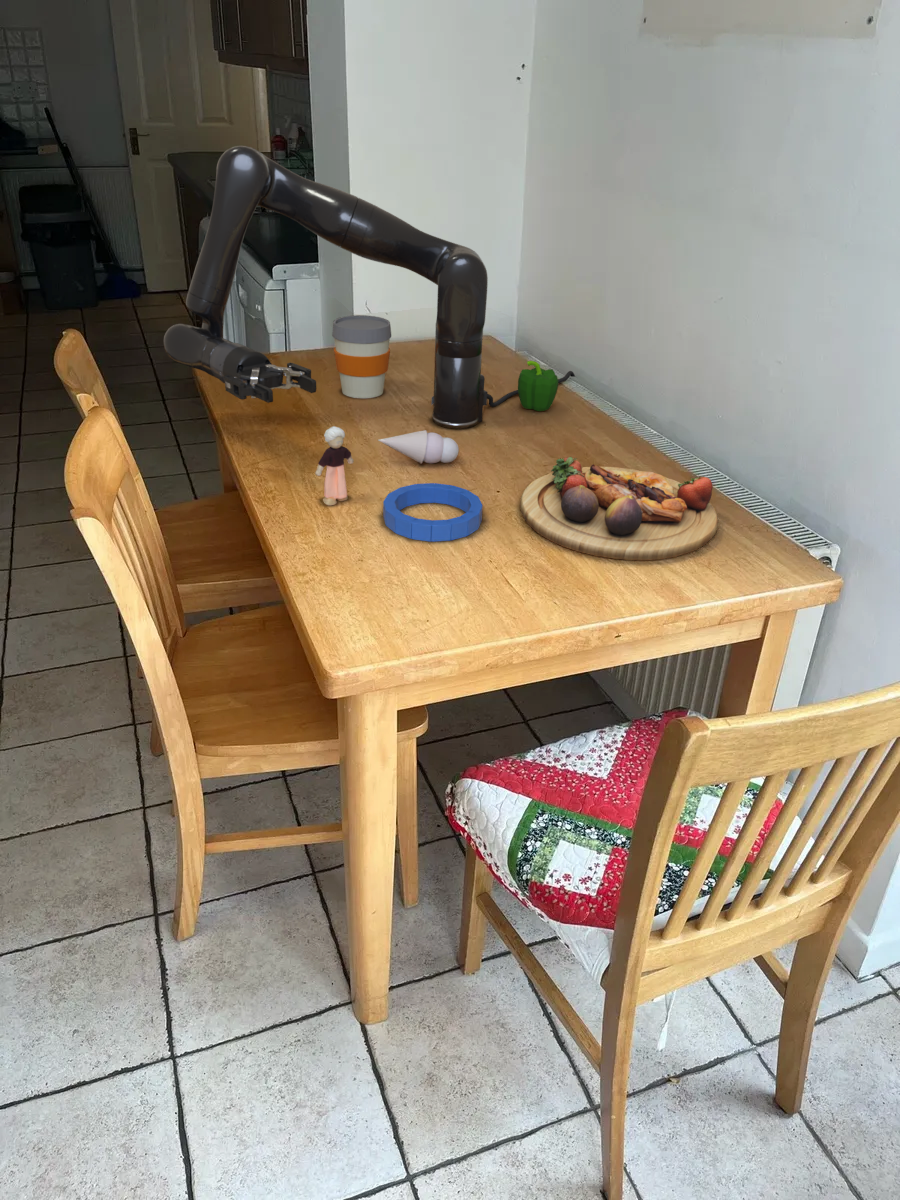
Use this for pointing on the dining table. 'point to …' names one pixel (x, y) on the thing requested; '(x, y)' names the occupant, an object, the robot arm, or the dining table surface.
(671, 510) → the wooden plate
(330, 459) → the grandmother figurine
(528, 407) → the bell pepper
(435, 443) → the ice cream cone
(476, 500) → the tape ring
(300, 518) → the dining table surface
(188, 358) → the robot arm
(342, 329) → the reusable coffee cup
